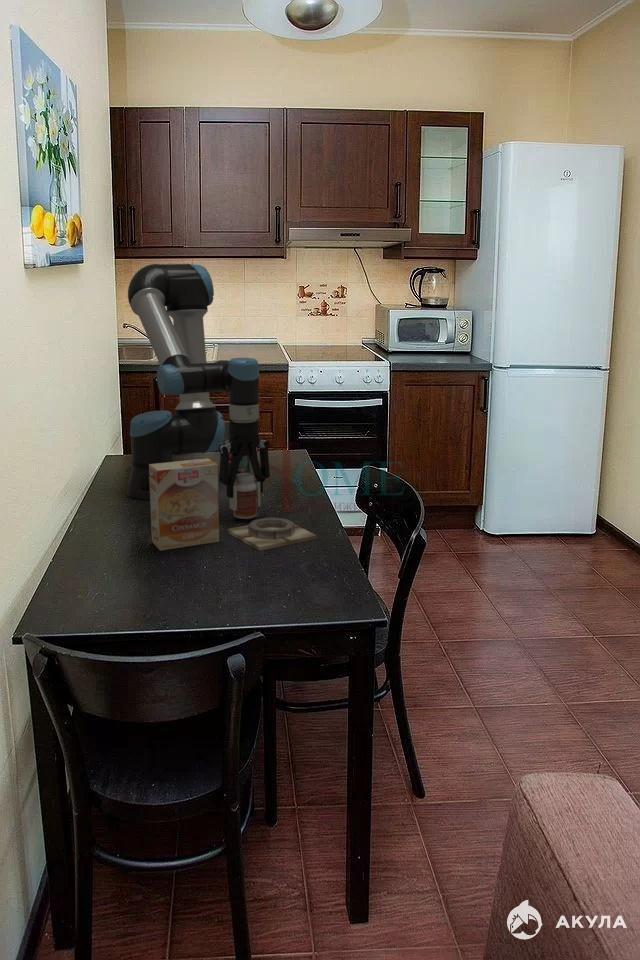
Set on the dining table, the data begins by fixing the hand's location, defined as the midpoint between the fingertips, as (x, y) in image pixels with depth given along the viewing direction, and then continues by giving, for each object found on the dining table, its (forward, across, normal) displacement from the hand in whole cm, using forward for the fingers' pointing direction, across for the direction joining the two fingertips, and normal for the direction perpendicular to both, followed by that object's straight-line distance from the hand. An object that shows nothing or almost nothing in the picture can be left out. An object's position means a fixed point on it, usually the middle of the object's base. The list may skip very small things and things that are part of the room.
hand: (245, 506), depth 220 cm
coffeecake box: (+4, -21, -8) cm, 23 cm away
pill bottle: (+3, 0, 0) cm, 3 cm away
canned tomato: (+4, +20, +42) cm, 46 cm away
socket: (+3, -1, -16) cm, 16 cm away
